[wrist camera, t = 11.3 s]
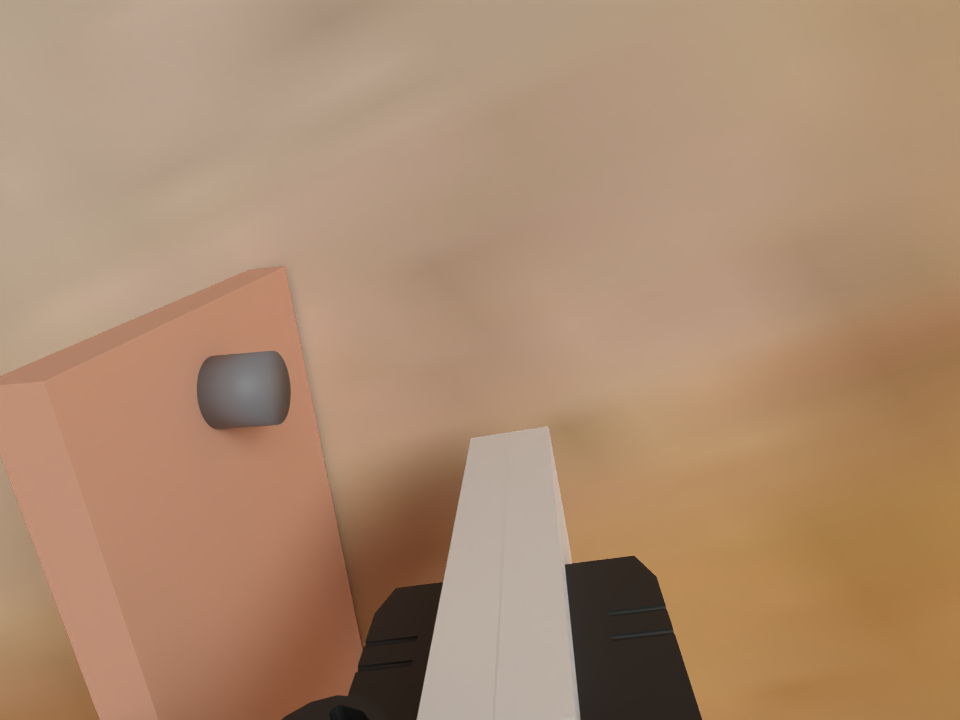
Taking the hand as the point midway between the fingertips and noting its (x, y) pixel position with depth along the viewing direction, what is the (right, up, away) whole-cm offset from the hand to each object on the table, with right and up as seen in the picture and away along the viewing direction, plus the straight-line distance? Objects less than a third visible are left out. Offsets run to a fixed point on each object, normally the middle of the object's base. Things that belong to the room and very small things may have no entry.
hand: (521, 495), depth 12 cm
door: (-4, -3, +4) cm, 6 cm away
